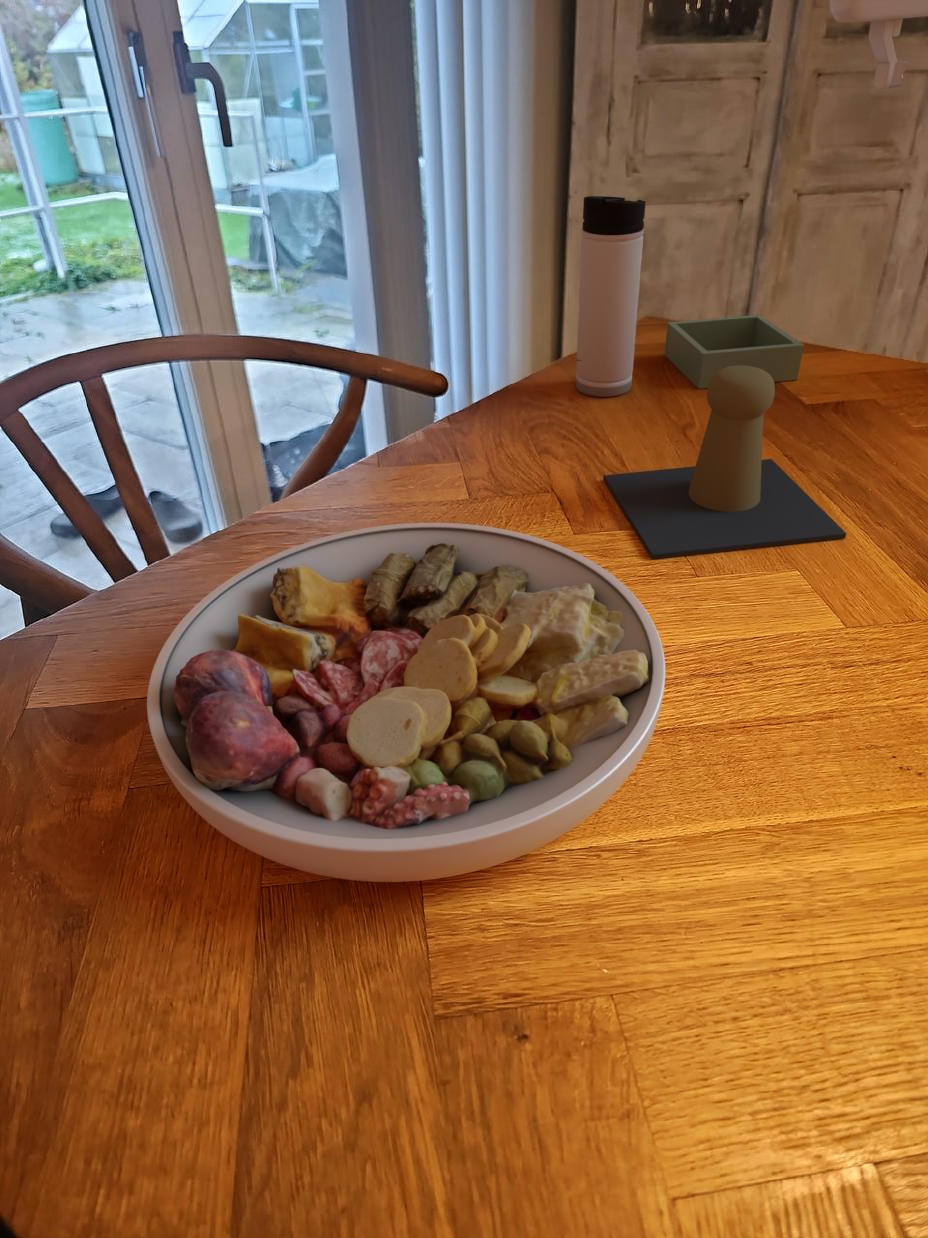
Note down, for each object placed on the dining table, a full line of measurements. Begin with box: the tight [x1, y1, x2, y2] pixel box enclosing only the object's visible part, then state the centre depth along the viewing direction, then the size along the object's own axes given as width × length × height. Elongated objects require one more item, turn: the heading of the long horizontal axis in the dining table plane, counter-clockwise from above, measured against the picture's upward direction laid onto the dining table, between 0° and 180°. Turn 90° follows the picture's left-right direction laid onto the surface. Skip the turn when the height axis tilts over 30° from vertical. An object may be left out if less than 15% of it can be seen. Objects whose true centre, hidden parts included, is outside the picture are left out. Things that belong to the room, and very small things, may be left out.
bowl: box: [146, 522, 666, 883], centre depth 51 cm, size 30×30×8 cm
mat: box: [603, 458, 847, 560], centre depth 73 cm, size 16×14×1 cm
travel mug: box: [575, 195, 646, 398], centre depth 90 cm, size 6×7×20 cm
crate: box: [663, 314, 805, 390], centre depth 98 cm, size 12×12×4 cm
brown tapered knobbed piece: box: [688, 365, 776, 512], centre depth 70 cm, size 6×6×11 cm
